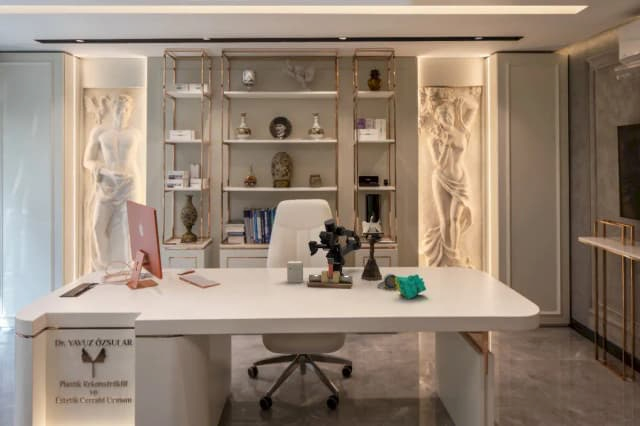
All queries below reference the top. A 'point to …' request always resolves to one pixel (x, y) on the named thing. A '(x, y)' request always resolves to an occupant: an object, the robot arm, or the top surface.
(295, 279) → the small box
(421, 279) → the teal lumpy block
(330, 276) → the lever
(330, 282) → the walnut board
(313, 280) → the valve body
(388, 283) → the ceramic mug
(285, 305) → the top surface
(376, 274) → the bird statue
